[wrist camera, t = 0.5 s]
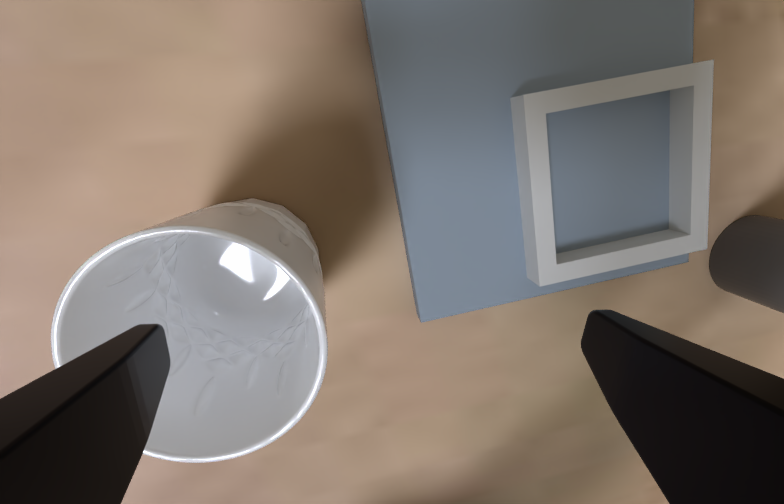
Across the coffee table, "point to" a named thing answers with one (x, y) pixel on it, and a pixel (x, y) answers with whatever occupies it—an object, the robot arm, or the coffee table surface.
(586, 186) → the grey base plate
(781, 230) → the grey tall cup
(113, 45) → the coffee table surface
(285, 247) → the white cup
